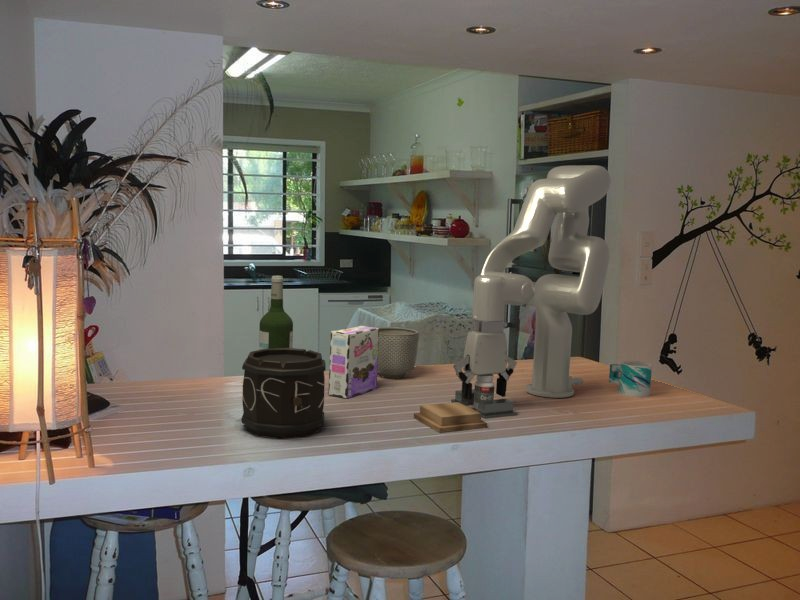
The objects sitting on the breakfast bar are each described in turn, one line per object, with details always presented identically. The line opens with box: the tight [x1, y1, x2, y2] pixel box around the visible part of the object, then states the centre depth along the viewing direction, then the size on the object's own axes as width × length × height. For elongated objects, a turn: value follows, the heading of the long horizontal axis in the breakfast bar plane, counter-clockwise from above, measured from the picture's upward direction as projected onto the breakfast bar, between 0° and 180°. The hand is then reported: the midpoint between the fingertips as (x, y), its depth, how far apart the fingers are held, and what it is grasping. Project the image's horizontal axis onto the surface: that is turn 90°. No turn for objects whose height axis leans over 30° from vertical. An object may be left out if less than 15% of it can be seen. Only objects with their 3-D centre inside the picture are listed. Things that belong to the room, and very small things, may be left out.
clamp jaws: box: [450, 388, 518, 419], centre depth 181 cm, size 9×15×3 cm, turn 26°
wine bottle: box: [258, 275, 294, 350], centre depth 179 cm, size 8×8×30 cm
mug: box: [608, 360, 653, 399], centre depth 203 cm, size 8×12×8 cm
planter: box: [377, 326, 420, 380], centre depth 211 cm, size 14×14×13 cm
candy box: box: [328, 325, 379, 399], centre depth 190 cm, size 14×6×16 cm, turn 148°
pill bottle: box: [473, 374, 495, 411], centre depth 180 cm, size 5×5×8 cm
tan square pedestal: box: [413, 402, 488, 433], centre depth 167 cm, size 12×12×3 cm
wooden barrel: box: [240, 347, 327, 440], centre depth 158 cm, size 18×18×16 cm
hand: (483, 396), depth 180 cm, fingers open, 9 cm apart
